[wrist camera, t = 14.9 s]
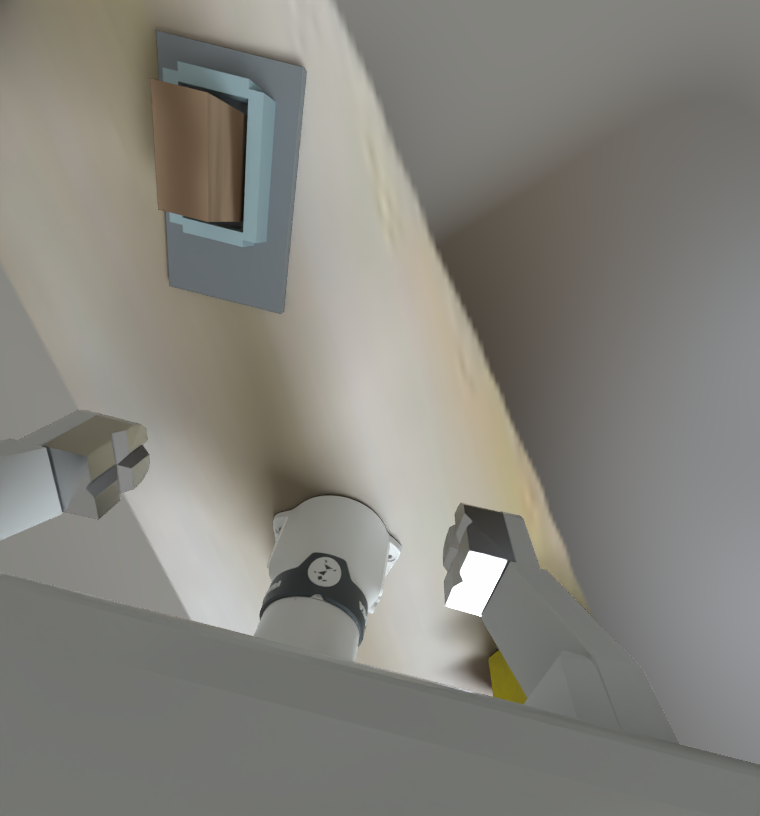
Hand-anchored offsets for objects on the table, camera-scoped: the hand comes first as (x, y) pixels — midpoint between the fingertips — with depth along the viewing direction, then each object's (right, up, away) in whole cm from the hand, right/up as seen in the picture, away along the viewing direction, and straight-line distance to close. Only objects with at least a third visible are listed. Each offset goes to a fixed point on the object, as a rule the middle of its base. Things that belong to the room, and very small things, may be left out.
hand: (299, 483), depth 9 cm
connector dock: (-12, +22, +25) cm, 36 cm away
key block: (-12, +24, +24) cm, 35 cm away
